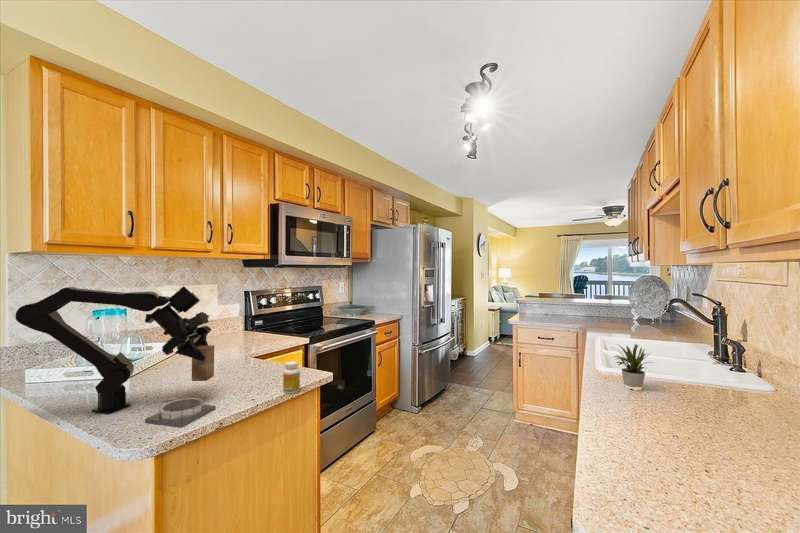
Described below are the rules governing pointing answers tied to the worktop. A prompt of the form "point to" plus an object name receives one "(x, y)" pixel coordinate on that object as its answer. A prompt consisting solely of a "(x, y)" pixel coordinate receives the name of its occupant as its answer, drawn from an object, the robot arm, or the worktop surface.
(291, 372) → the supplement bottle
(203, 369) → the upright wooden block
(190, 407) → the duct collar
